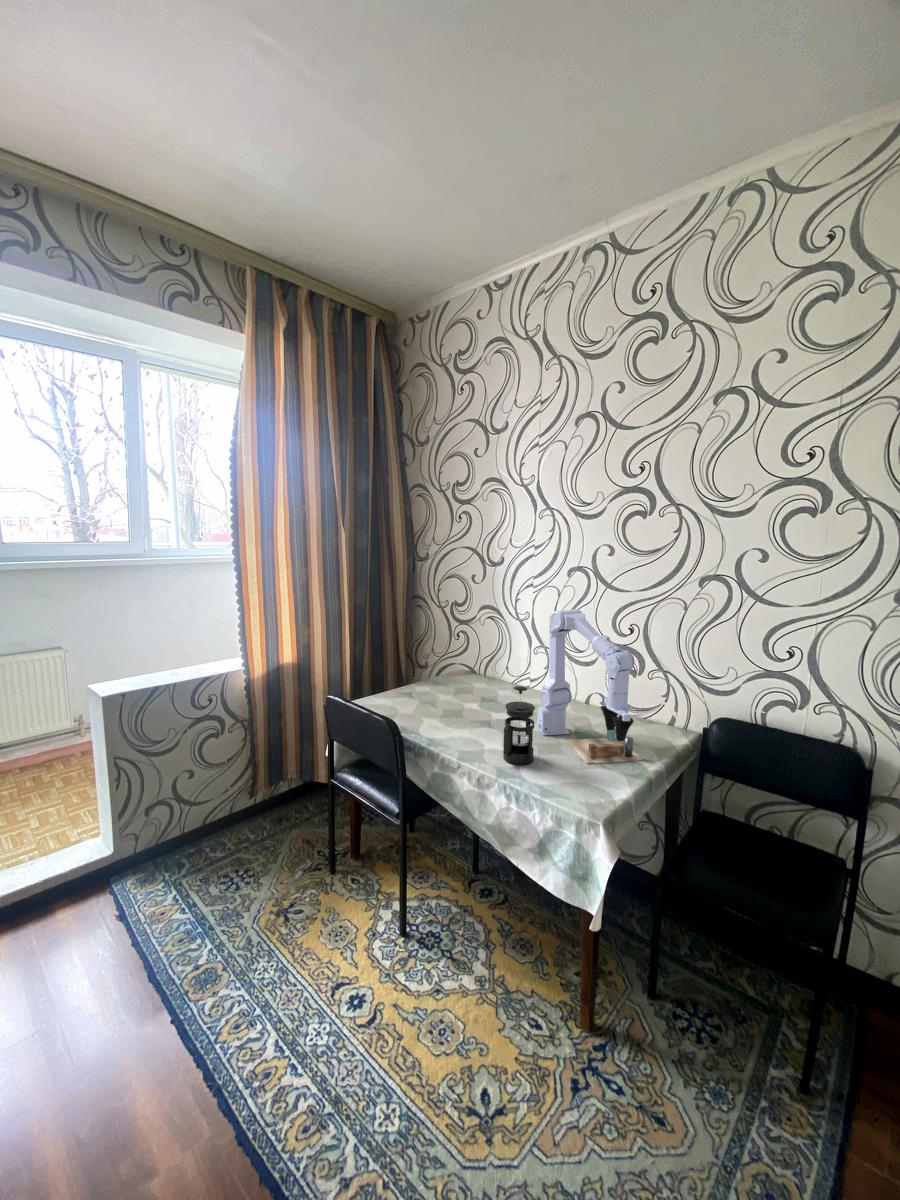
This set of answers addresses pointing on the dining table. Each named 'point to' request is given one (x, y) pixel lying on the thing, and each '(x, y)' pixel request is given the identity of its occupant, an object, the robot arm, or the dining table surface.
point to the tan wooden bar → (605, 750)
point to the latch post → (611, 734)
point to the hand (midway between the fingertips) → (615, 734)
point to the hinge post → (628, 746)
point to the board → (582, 750)
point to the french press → (518, 740)
